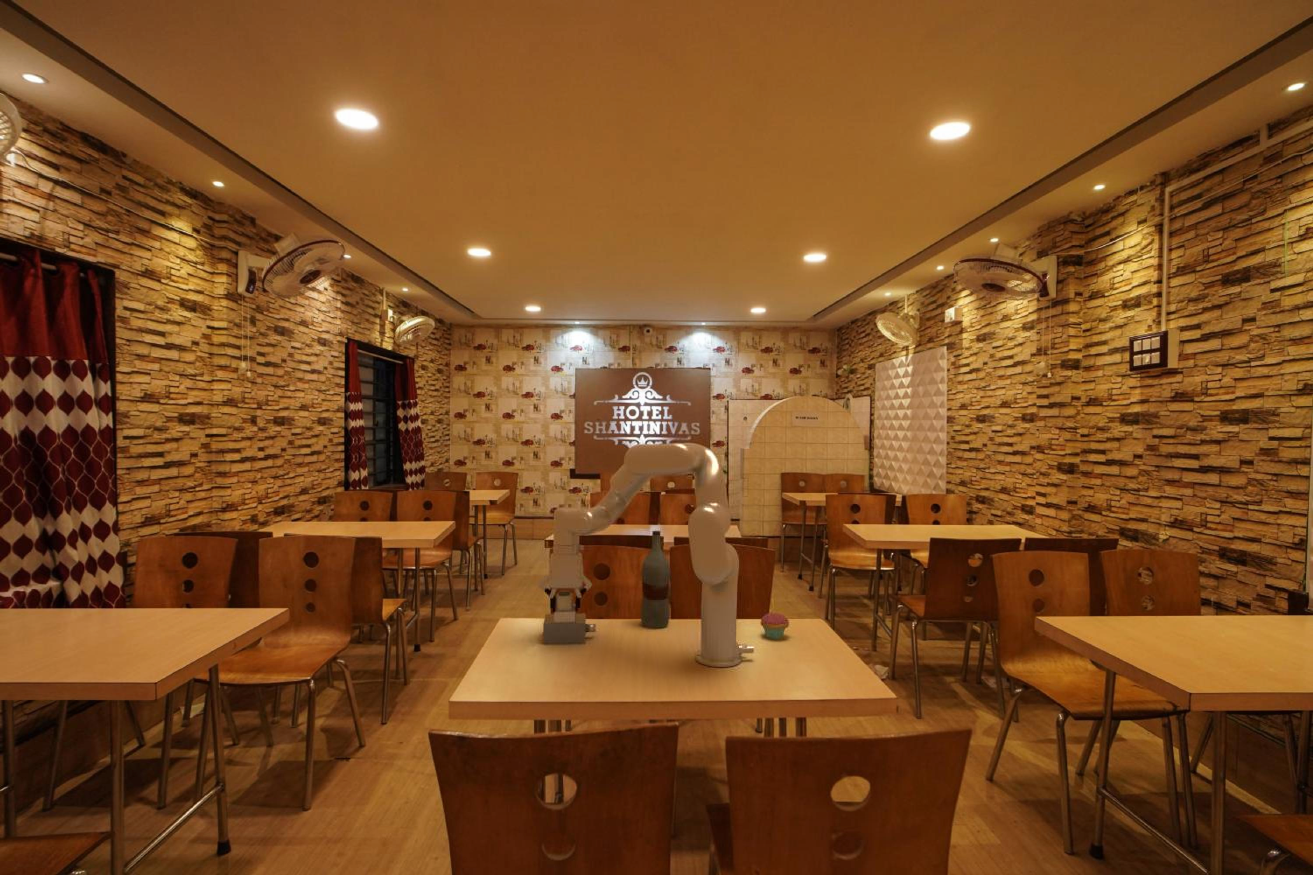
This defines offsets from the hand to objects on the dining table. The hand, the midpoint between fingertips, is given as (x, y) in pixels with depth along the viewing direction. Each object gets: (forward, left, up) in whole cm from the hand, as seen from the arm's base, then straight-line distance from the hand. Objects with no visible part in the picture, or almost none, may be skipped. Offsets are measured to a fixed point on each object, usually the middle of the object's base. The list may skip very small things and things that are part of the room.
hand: (565, 609), depth 186 cm
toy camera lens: (0, 0, -2) cm, 2 cm away
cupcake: (-63, +2, -9) cm, 64 cm away
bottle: (-28, -12, -9) cm, 32 cm away
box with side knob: (-1, -1, -9) cm, 9 cm away
